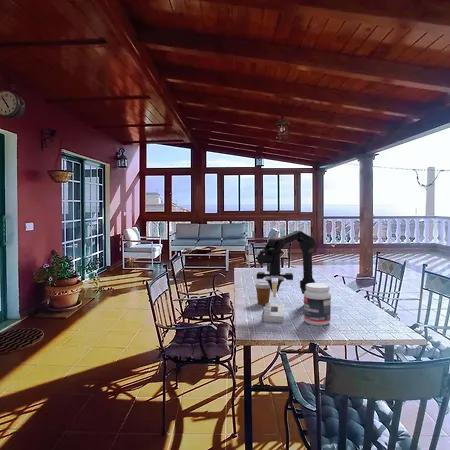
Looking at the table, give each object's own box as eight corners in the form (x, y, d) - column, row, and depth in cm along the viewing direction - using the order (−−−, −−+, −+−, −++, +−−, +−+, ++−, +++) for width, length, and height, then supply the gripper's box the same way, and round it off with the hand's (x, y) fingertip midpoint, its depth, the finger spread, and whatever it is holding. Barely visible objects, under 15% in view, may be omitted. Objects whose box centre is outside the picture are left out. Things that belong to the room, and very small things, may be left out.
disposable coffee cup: (258, 306, 203) (258, 285, 203) (252, 302, 212) (252, 282, 212) (274, 305, 206) (274, 284, 205) (267, 301, 215) (267, 281, 214)
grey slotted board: (284, 308, 198) (284, 303, 198) (284, 322, 175) (284, 316, 174) (265, 308, 200) (265, 302, 200) (263, 321, 176) (263, 315, 176)
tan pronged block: (277, 294, 190) (277, 281, 190) (276, 297, 183) (276, 284, 183) (272, 294, 190) (272, 281, 190) (272, 297, 183) (272, 284, 183)
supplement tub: (298, 322, 175) (298, 285, 174) (312, 316, 184) (312, 281, 183) (321, 328, 166) (322, 289, 165) (335, 322, 175) (336, 285, 174)
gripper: (292, 260, 192) (292, 289, 193) (258, 260, 195) (257, 288, 196) (293, 264, 181) (292, 294, 182) (256, 263, 184) (256, 293, 185)
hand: (274, 292), depth 187 cm, fingers closed on tan pronged block, 2 cm apart
